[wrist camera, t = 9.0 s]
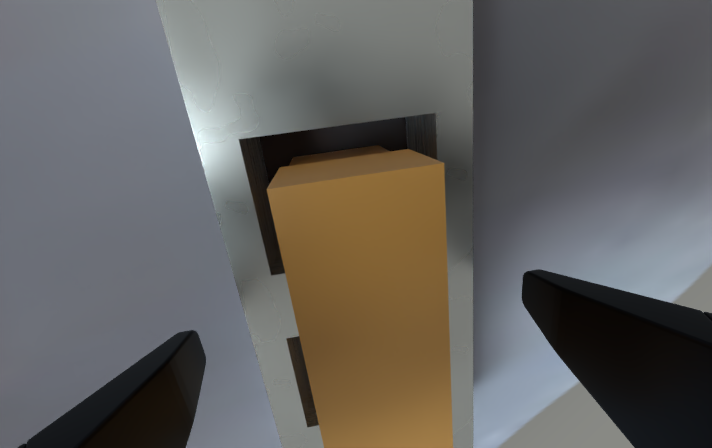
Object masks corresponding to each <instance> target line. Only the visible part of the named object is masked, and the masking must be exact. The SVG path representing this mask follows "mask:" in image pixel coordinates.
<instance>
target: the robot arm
mask: <svg viewBox="0 0 712 448" xmlns="http://www.w3.org/2000/svg"><path fill="white" fill-rule="evenodd" d="M522 301H523V304H524V306H525V308H526V309H527V311H528V312H529V314H530V315H531V317H532V318H533V320H534V321H535V323H536V324H537V326H538V327H539V328H540V330H541V331H542V333H543V334H544V336H545V337H546V339H547V340H548V342H549V343H550V345H551V346H552V347H553V349H554V350H555V352H556V353H557V354H558V355H559V357H560V358H561V359H562V360H563V362H564V363H565V364H566V365H567V366H568V368H569V369H570V370H571V371H572V373H573V374H574V375H575V376H576V377H577V379H578V380H579V381H580V382H581V383H582V385H583V386H584V387H585V388H586V389H587V391H588V392H589V393H590V394H591V395H592V397H593V398H594V399H595V400H596V402H597V403H598V404H599V405H600V406H601V408H602V409H603V410H604V411H605V412H606V414H607V415H608V416H609V417H610V418H611V420H612V421H613V422H614V423H615V424H616V426H617V427H618V428H619V429H620V430H621V432H622V433H623V434H624V435H625V437H626V438H627V439H628V440H629V441H630V443H631V444H632V445H633V446H634V447H635V448H712V313H708V312H704V313H703V312H702V311H700V310H696V309H692V308H688V307H685V306H680V305H677V304H673V303H669V302H665V301H661V300H657V299H653V298H649V297H646V296H642V295H638V294H634V293H630V292H626V291H622V290H618V289H614V288H611V287H607V286H603V285H599V284H595V283H591V282H587V281H583V280H579V279H575V278H572V277H568V276H564V275H560V274H556V273H552V272H548V271H544V270H532V271H527V272H525V273H524V275H523V284H522ZM205 365H206V356H205V353H204V350H203V347H202V344H201V341H200V338H199V335H198V333H197V332H196V331H194V330H190V331H184V332H179V333H177V334H176V335H174V336H173V337H171V338H170V339H169V340H167V341H166V342H164V343H163V344H162V345H160V346H159V347H157V348H156V349H155V350H153V351H152V352H151V353H149V354H148V355H146V356H145V357H144V358H142V359H141V360H139V361H138V362H137V363H135V364H134V365H132V366H131V367H130V368H128V369H127V370H125V371H124V372H123V373H121V374H120V375H118V376H117V377H116V378H114V379H113V380H111V381H110V382H109V383H107V384H106V385H105V386H103V387H102V388H100V389H99V390H98V391H96V392H95V393H93V394H92V395H91V396H89V397H88V398H86V399H85V400H84V401H82V402H81V403H79V404H78V405H77V406H75V407H74V408H72V409H71V410H70V411H68V412H67V413H65V414H64V415H63V416H61V417H60V418H59V419H57V420H56V421H54V422H53V423H52V424H50V425H49V426H47V427H46V428H45V429H43V430H42V431H40V432H39V433H38V434H36V435H35V436H33V437H32V438H31V439H29V440H28V442H27V444H22V445H21V446H19V447H18V448H186V445H187V441H188V438H189V435H190V432H191V429H192V425H193V422H194V418H195V413H196V409H197V404H198V399H199V394H200V389H201V385H202V380H203V375H204V370H205Z"/></svg>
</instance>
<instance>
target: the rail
mask: <svg viewBox="0 0 712 448" xmlns="http://www.w3.org/2000/svg"><path fill="white" fill-rule="evenodd" d="M156 3H157V6H158V10H159V13H160V17H161V20H162V24H163V27H164V31H165V35H166V38H167V42H168V45H169V49H170V52H171V56H172V59H173V63H174V66H175V70H176V73H177V77H178V80H179V84H180V87H181V91H182V95H183V98H184V102H185V105H186V109H187V112H188V116H189V119H190V123H191V126H192V130H193V133H194V137H195V140H196V144H197V147H198V151H199V155H200V158H201V162H202V165H203V169H204V172H205V176H206V179H207V183H208V186H209V190H210V193H211V197H212V200H213V204H214V207H215V211H216V215H217V218H218V222H219V225H220V229H221V232H222V236H223V239H224V243H225V246H226V250H227V253H228V257H229V260H230V264H231V267H232V271H233V274H234V278H235V282H236V285H237V289H238V292H239V296H240V299H241V303H242V306H243V310H244V313H245V317H246V320H247V324H248V327H249V331H250V334H251V338H252V342H253V345H254V349H255V352H256V356H257V359H258V363H259V366H260V370H261V373H262V377H263V380H264V384H265V387H266V391H267V394H268V398H269V402H270V405H271V409H272V412H273V416H274V419H275V423H276V426H277V430H278V433H279V437H280V440H281V444H282V447H283V448H324V445H323V441H322V436H321V432H320V427H319V423H318V418H317V414H316V409H315V405H314V400H313V396H312V391H311V387H310V382H309V378H308V373H307V369H306V364H305V360H304V355H303V351H302V346H301V342H300V337H299V333H298V328H297V324H296V319H295V315H294V310H293V306H292V301H291V297H290V292H289V288H288V283H287V279H286V274H285V270H284V265H283V261H282V256H281V252H280V248H279V243H278V239H277V234H276V230H275V225H274V221H273V216H272V212H271V207H270V203H269V198H268V194H267V188H268V186H269V180H268V175H267V171H266V166H265V162H264V157H263V152H262V148H261V143H260V139H259V137H260V136H267V135H275V134H282V133H290V132H297V131H304V130H312V129H319V128H327V127H334V126H341V125H349V124H356V123H364V122H371V121H378V120H386V119H393V118H401V117H405V120H406V135H407V149H410V150H413V151H415V152H418V153H420V154H423V155H425V156H428V157H430V158H433V159H435V160H438V161H440V162H443V163H444V172H445V204H446V236H447V268H448V300H449V332H450V364H451V396H452V428H453V448H473V0H156Z"/></svg>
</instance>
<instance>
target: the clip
mask: <svg viewBox="0 0 712 448" xmlns="http://www.w3.org/2000/svg"><path fill="white" fill-rule="evenodd" d="M267 194H268V198H269V203H270V207H271V212H272V216H273V221H274V225H275V230H276V234H277V239H278V243H279V248H280V252H281V256H282V261H283V265H284V270H285V274H286V279H287V283H288V288H289V292H290V297H291V301H292V306H293V310H294V315H295V319H296V324H297V328H298V333H299V337H300V342H301V346H302V351H303V355H304V360H305V364H306V369H307V373H308V378H309V382H310V387H311V391H312V396H313V400H314V405H315V409H316V414H317V418H318V423H319V427H320V432H321V436H322V441H323V445H324V448H453V428H452V396H451V364H450V332H449V300H448V268H447V236H446V204H445V172H444V163H443V162H440V161H438V160H435V159H433V158H430V157H428V156H425V155H423V154H420V153H418V152H415V151H413V150H410V149H405V150H398V151H391V152H390V151H388V150H386V149H385V148H383V147H381V146H379V145H376V146H368V147H361V148H354V149H347V150H340V151H333V152H326V153H319V154H312V155H305V156H298V157H293V158H292V160H291V162H290V164H289V166H286V167H280V168H279V169H278V171H277V173H276V174H275V176H274V178H273V179H272V181H271V183H270V184H269V186H268V188H267Z"/></svg>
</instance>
